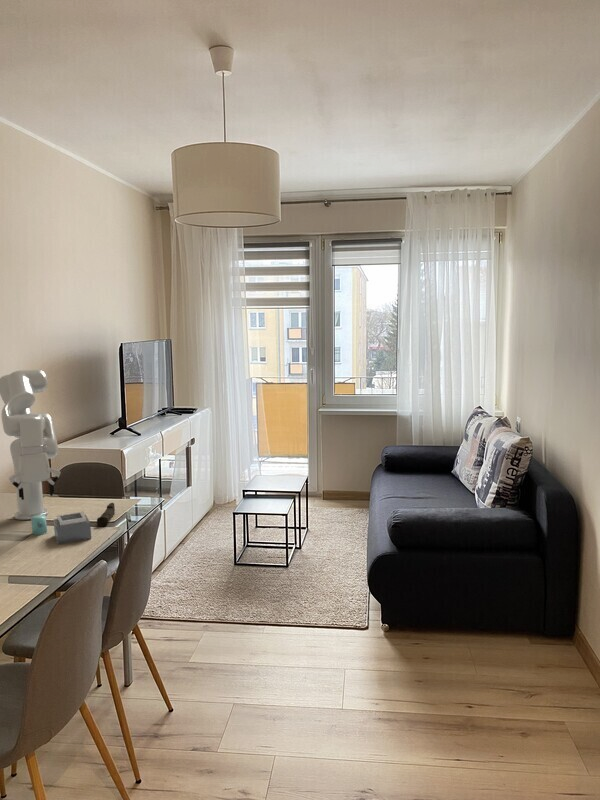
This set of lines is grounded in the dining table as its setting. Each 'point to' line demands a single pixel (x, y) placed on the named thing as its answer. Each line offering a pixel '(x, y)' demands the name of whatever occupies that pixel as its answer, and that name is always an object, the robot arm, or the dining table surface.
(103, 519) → the hand tool
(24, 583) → the dining table surface
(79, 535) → the grey plastic box
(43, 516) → the teal toy block
